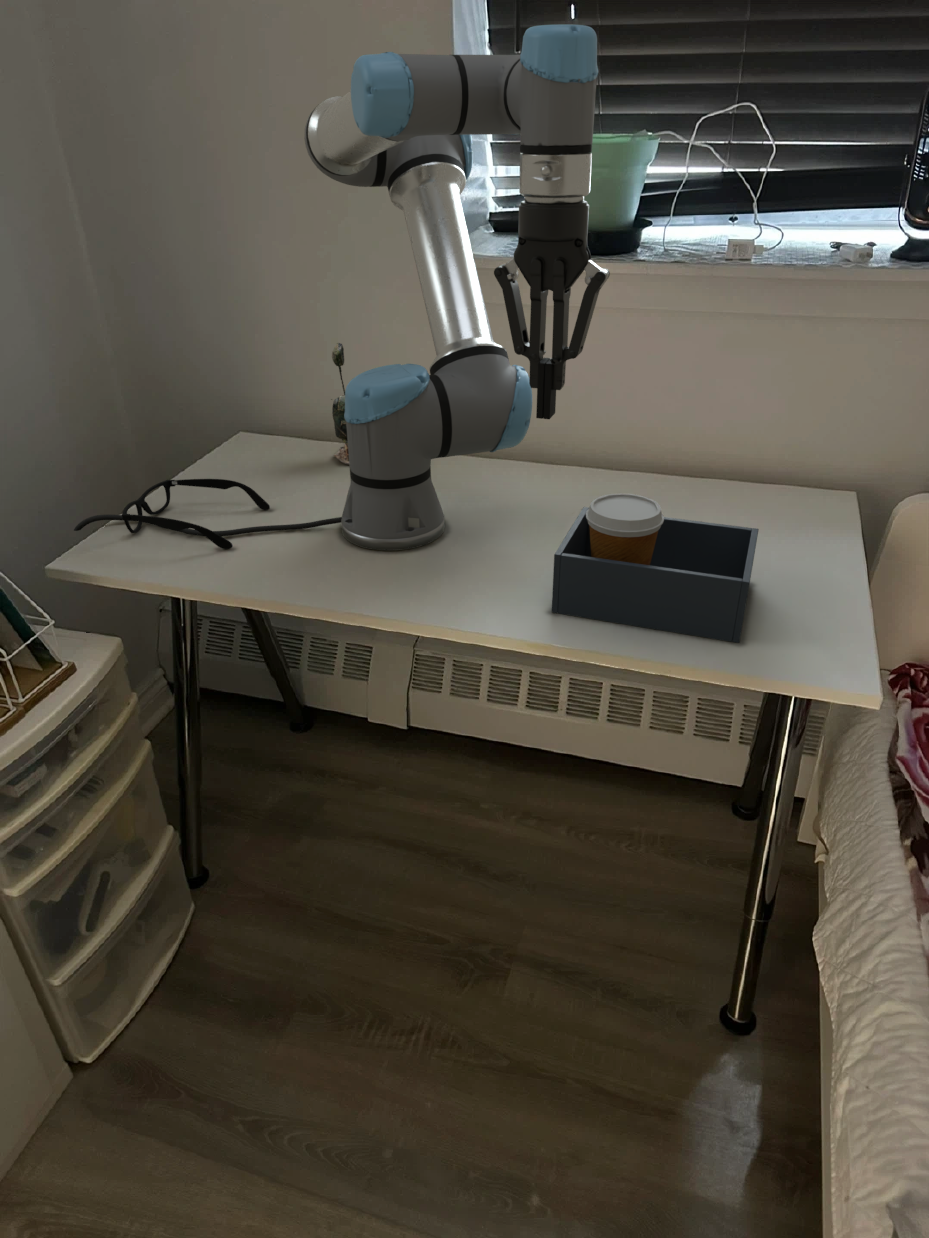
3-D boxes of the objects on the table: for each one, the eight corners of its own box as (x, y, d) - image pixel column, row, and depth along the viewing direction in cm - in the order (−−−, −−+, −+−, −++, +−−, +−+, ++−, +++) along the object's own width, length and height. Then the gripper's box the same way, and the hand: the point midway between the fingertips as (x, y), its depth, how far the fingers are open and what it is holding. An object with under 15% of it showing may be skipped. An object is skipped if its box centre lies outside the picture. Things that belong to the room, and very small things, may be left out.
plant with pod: (322, 469, 155) (311, 352, 145) (342, 447, 165) (334, 337, 155) (366, 472, 154) (359, 355, 144) (385, 450, 163) (379, 339, 153)
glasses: (169, 505, 143) (163, 476, 141) (272, 507, 140) (267, 477, 137) (116, 548, 129) (107, 516, 127) (229, 552, 126) (223, 519, 123)
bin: (551, 612, 110) (554, 554, 106) (580, 560, 123) (583, 506, 119) (739, 643, 103) (749, 582, 99) (749, 584, 116) (758, 528, 112)
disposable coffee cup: (638, 618, 109) (647, 528, 103) (568, 598, 113) (573, 511, 107) (666, 587, 116) (676, 501, 110) (599, 569, 120) (605, 486, 114)
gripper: (484, 200, 94) (483, 419, 105) (608, 203, 90) (593, 430, 101) (505, 195, 100) (502, 402, 111) (622, 197, 96) (606, 411, 108)
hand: (545, 415), depth 106 cm, fingers closed
